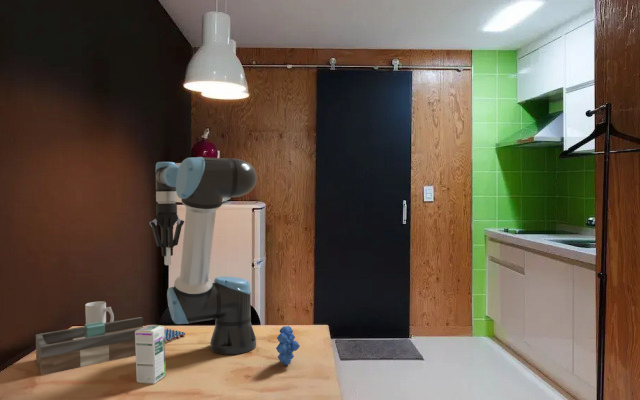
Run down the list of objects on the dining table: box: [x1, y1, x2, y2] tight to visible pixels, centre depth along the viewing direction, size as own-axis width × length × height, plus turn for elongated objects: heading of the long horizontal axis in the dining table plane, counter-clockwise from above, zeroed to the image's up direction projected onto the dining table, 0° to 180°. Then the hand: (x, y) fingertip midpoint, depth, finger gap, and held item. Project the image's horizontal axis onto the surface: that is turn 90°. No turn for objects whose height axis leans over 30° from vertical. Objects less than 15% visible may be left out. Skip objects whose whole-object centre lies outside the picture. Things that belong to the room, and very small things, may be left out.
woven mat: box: [164, 328, 186, 344], centre depth 165 cm, size 10×11×2 cm
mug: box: [84, 301, 115, 324], centre depth 166 cm, size 10×7×12 cm, turn 85°
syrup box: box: [135, 324, 167, 385], centre depth 128 cm, size 6×6×14 cm
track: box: [35, 316, 144, 376], centre depth 147 cm, size 15×32×8 cm, turn 127°
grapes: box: [275, 325, 301, 366], centre depth 138 cm, size 12×7×12 cm, turn 166°
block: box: [84, 322, 105, 338], centre depth 147 cm, size 5×5×5 cm
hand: (167, 264), depth 176 cm, fingers closed
